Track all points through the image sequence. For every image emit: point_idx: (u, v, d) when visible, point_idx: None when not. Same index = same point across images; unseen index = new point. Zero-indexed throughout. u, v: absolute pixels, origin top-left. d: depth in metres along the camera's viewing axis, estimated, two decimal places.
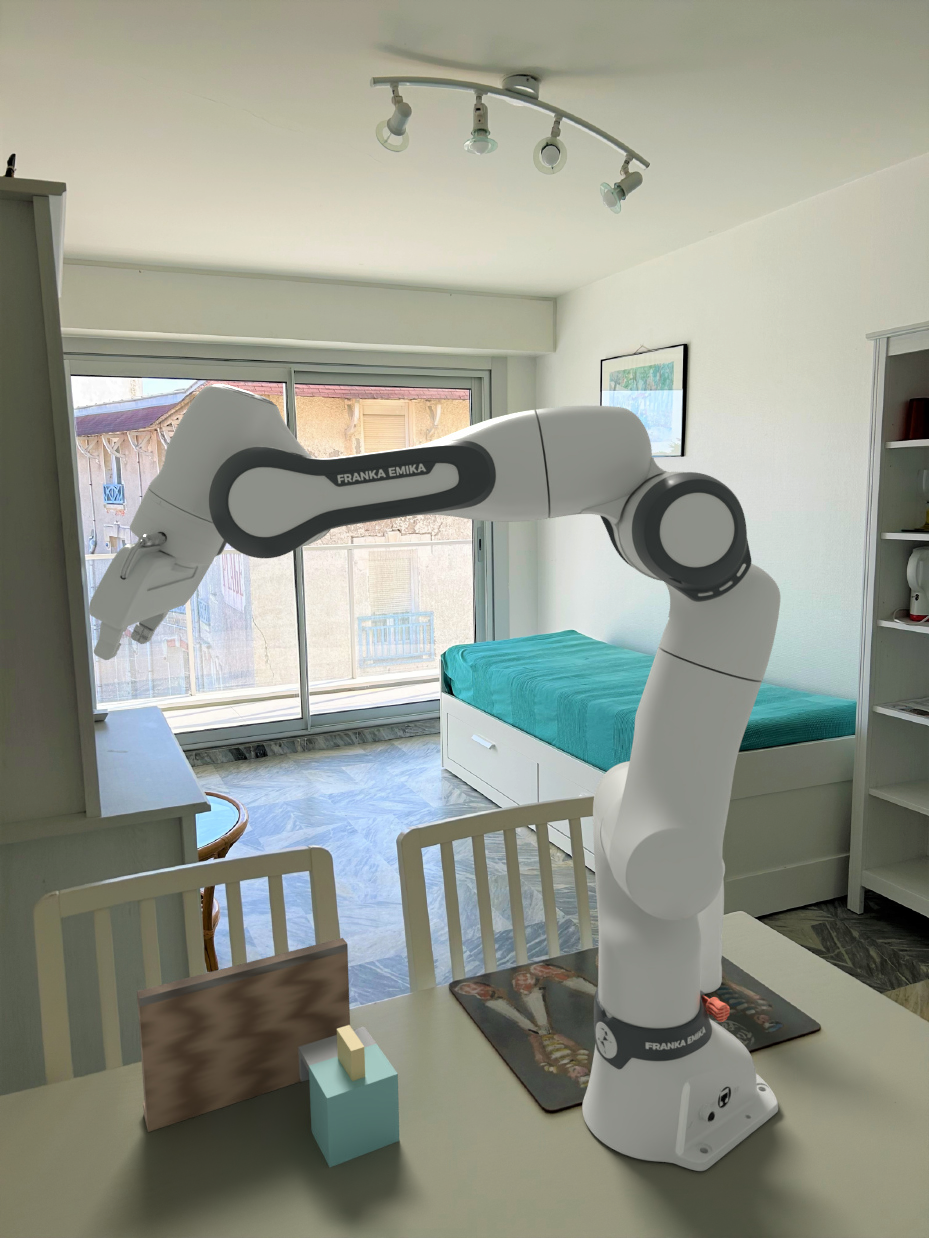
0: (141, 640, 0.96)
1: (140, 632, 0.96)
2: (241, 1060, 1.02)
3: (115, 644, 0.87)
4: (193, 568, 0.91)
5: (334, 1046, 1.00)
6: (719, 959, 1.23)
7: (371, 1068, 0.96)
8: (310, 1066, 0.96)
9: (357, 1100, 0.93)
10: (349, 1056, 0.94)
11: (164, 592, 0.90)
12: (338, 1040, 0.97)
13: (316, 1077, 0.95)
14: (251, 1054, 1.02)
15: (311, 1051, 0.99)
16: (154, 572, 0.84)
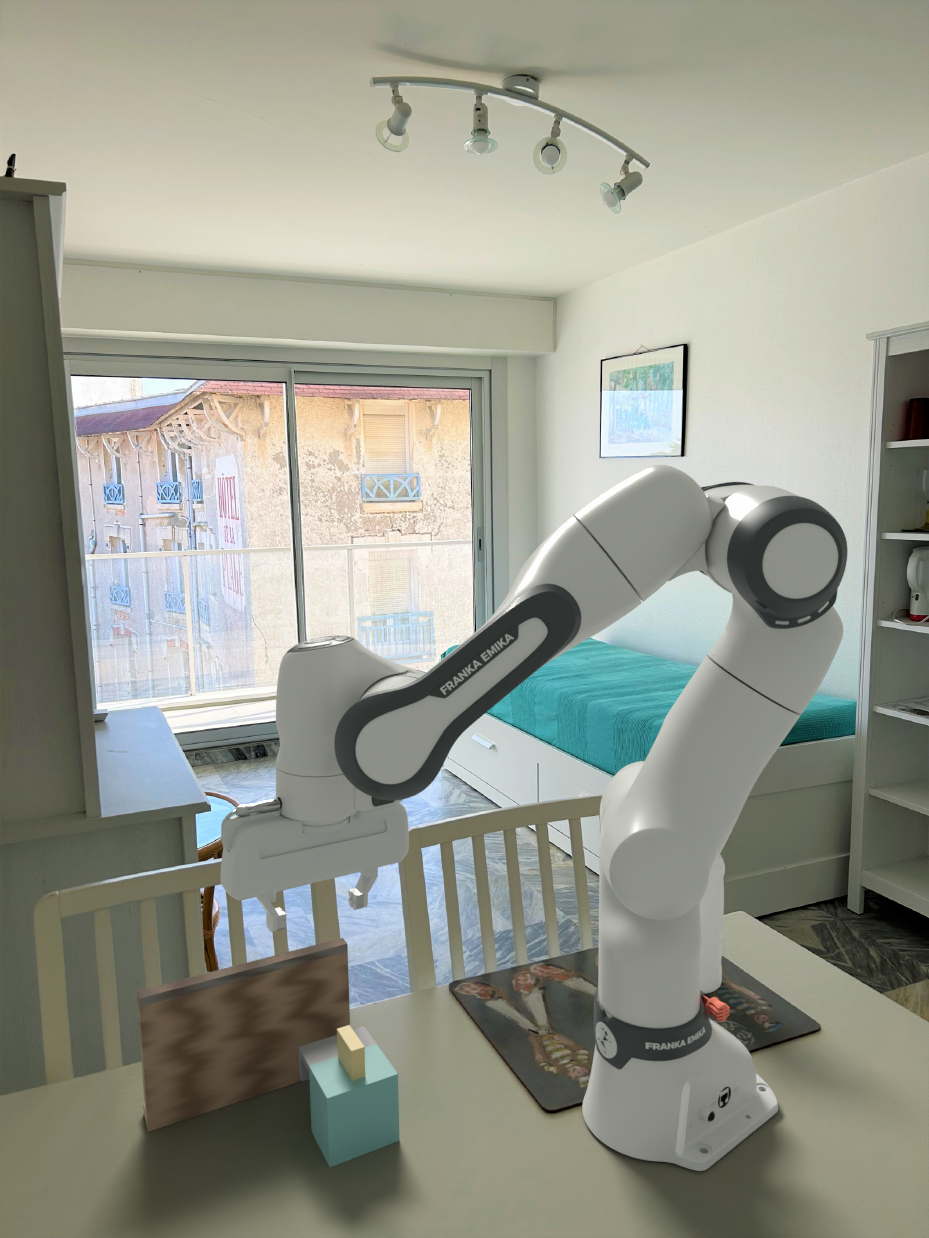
0: (354, 906, 0.95)
1: (352, 897, 0.95)
2: (241, 1060, 1.02)
3: (270, 915, 0.89)
4: (331, 825, 0.89)
5: (334, 1046, 1.00)
6: (719, 959, 1.23)
7: (371, 1068, 0.96)
8: (310, 1066, 0.96)
9: (357, 1100, 0.93)
10: (349, 1056, 0.94)
11: (315, 855, 0.90)
12: (339, 1040, 0.97)
13: (316, 1077, 0.95)
14: (251, 1054, 1.02)
15: (311, 1051, 0.99)
16: (255, 839, 0.86)
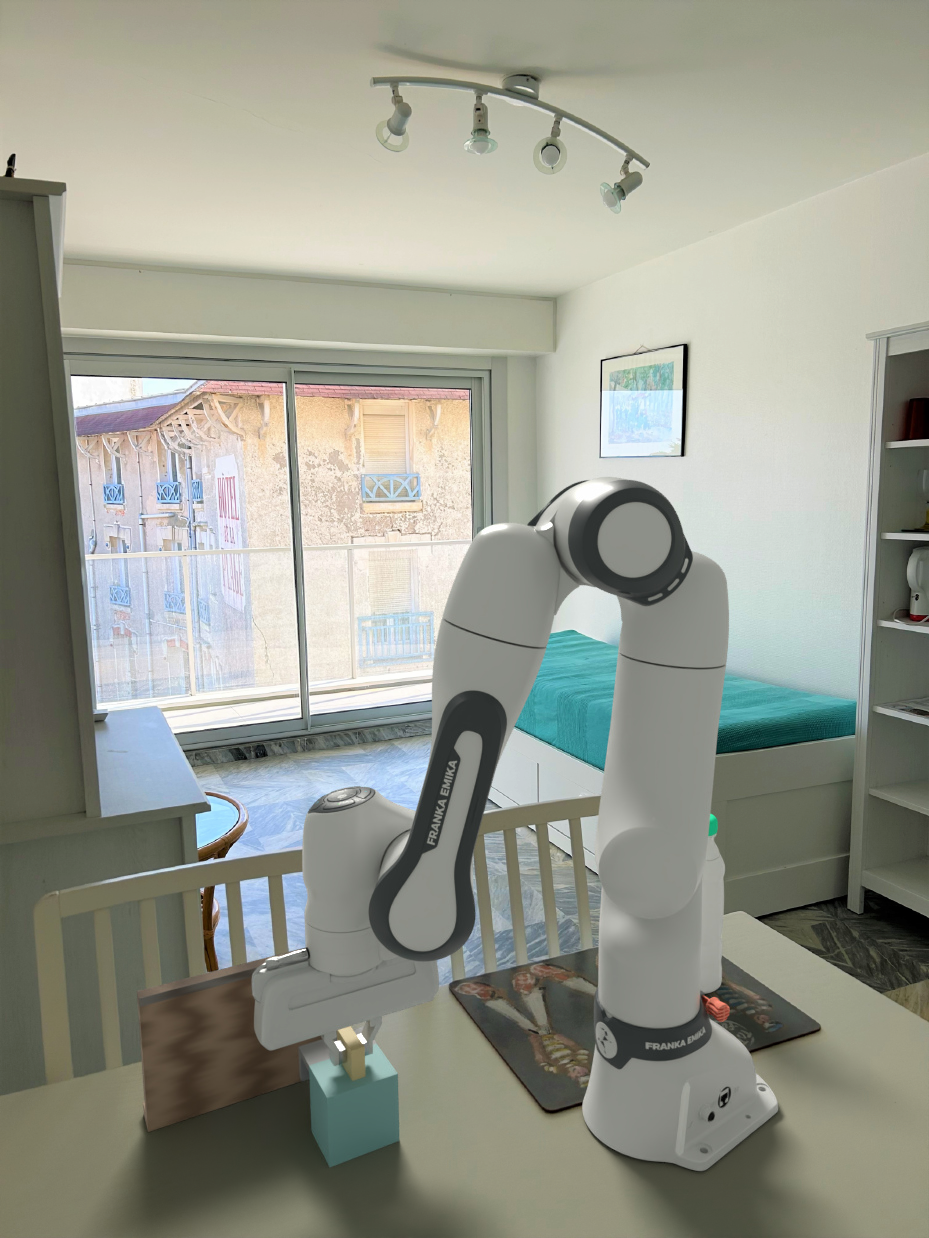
0: None
1: None
2: (241, 1060, 1.02)
3: (332, 1051, 0.94)
4: (357, 975, 0.92)
5: None
6: (719, 959, 1.23)
7: (371, 1068, 0.96)
8: (310, 1066, 0.96)
9: (357, 1100, 0.93)
10: (349, 1056, 0.94)
11: (343, 1002, 0.93)
12: (339, 1039, 0.97)
13: (316, 1077, 0.95)
14: (251, 1054, 1.02)
15: (311, 1051, 0.99)
16: (283, 992, 0.89)
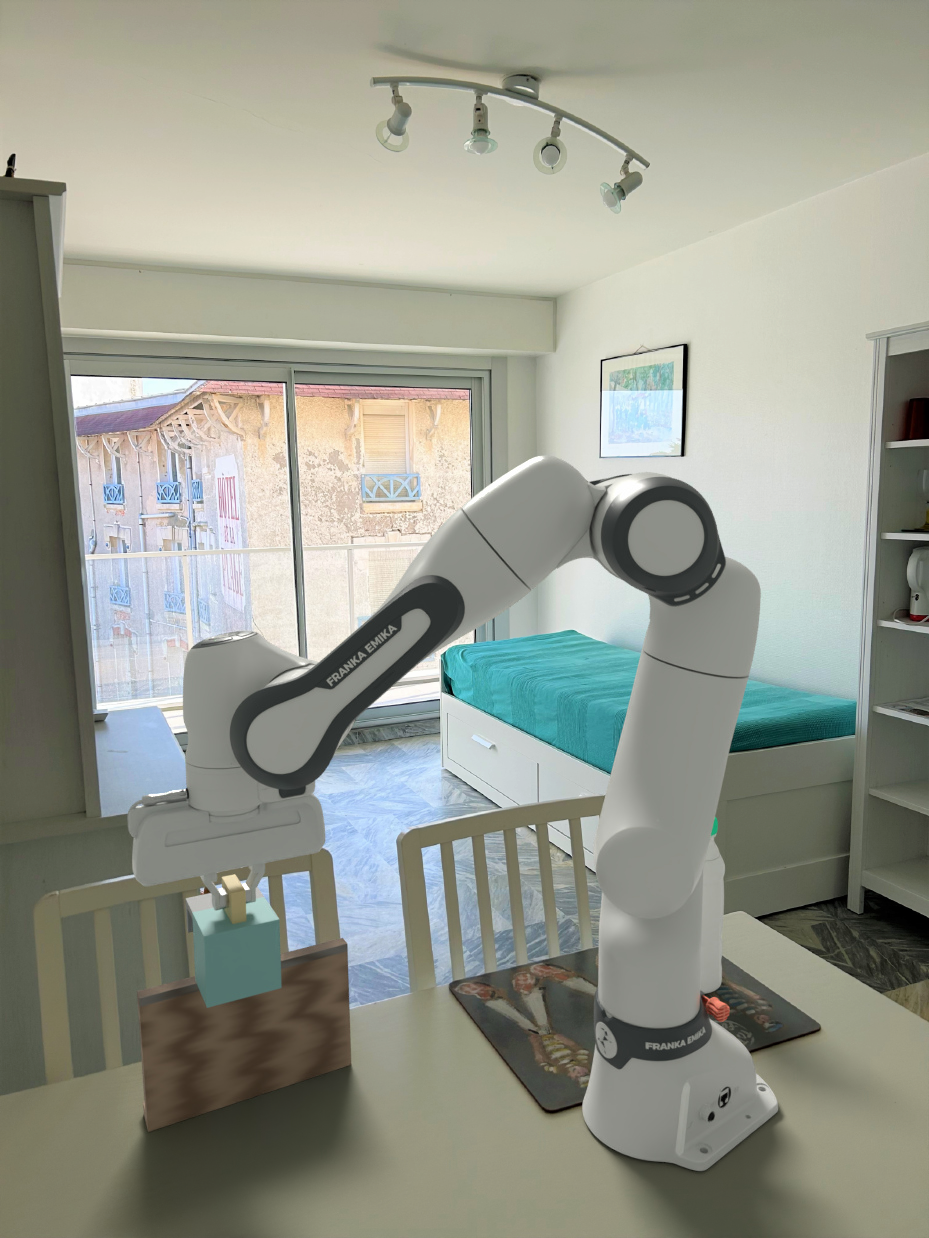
0: None
1: None
2: (241, 1060, 1.02)
3: (212, 894, 0.94)
4: (236, 815, 0.92)
5: None
6: (719, 959, 1.23)
7: (254, 914, 0.96)
8: (193, 912, 0.96)
9: (236, 941, 0.93)
10: (230, 899, 0.94)
11: (223, 844, 0.93)
12: (223, 887, 0.97)
13: (197, 921, 0.95)
14: (251, 1054, 1.02)
15: (197, 901, 0.99)
16: (159, 828, 0.89)
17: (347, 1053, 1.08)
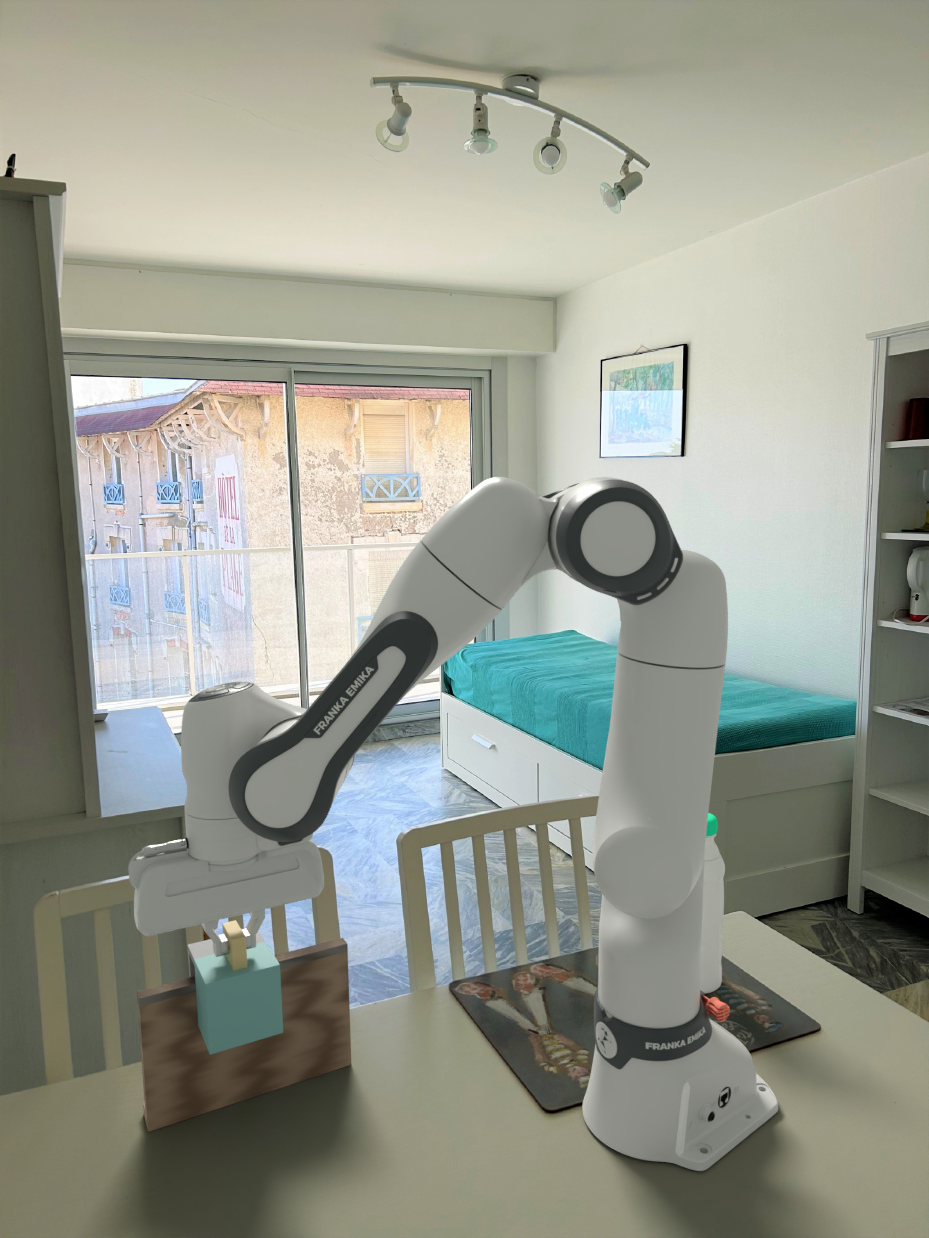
0: None
1: None
2: (241, 1060, 1.02)
3: (213, 941, 0.95)
4: (235, 864, 0.93)
5: None
6: (719, 959, 1.23)
7: (254, 960, 0.97)
8: (195, 959, 0.98)
9: (237, 988, 0.94)
10: (231, 946, 0.95)
11: (223, 892, 0.94)
12: None
13: (199, 968, 0.96)
14: (251, 1054, 1.02)
15: (199, 948, 1.00)
16: (160, 879, 0.91)
17: (347, 1053, 1.08)
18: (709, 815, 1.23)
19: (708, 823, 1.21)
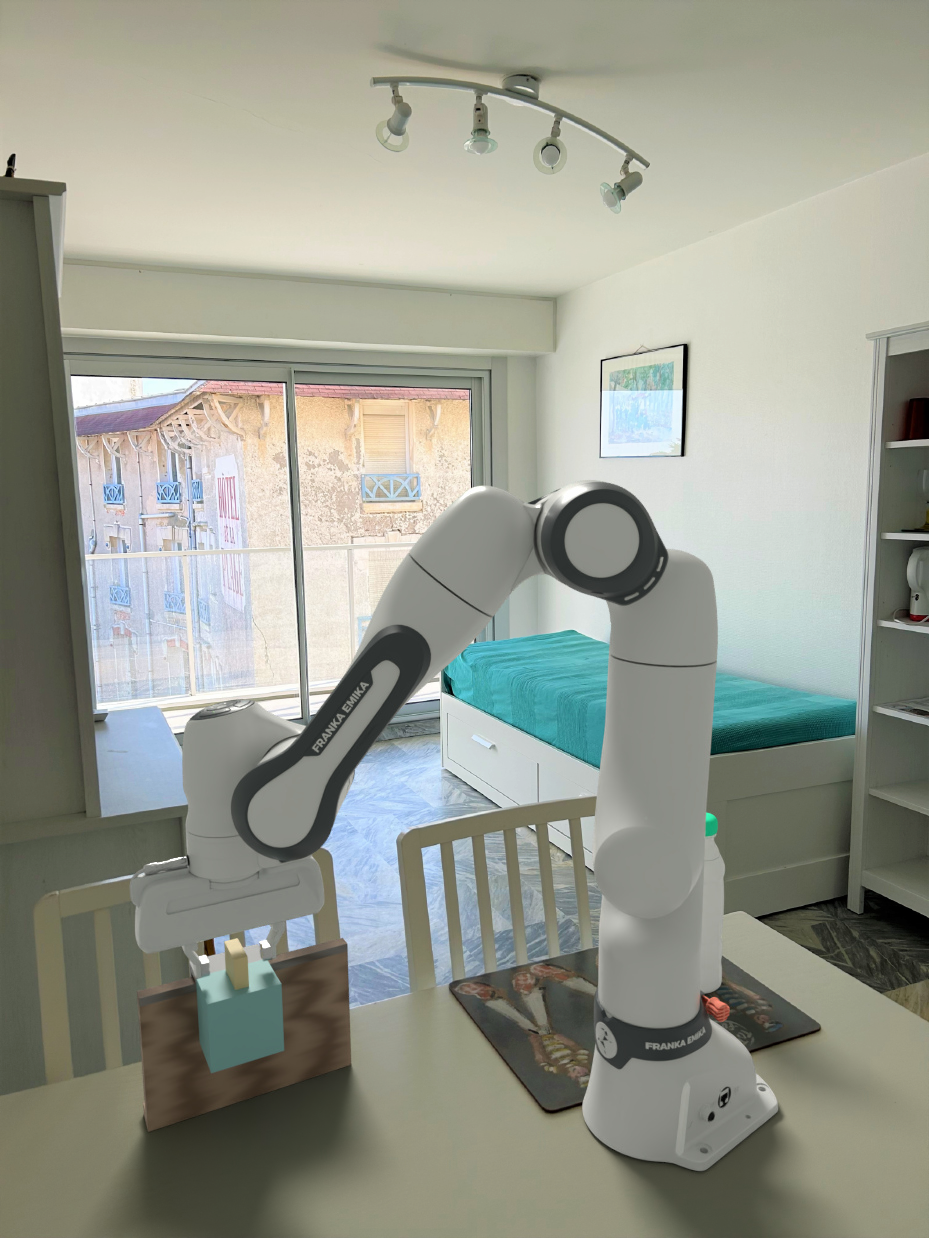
0: (262, 957, 0.99)
1: (261, 949, 0.99)
2: None
3: (193, 963, 0.95)
4: (236, 882, 0.94)
5: (224, 960, 1.01)
6: (719, 959, 1.23)
7: (256, 979, 0.98)
8: None
9: (239, 1007, 0.95)
10: (233, 965, 0.96)
11: (224, 909, 0.95)
12: (225, 952, 0.99)
13: (201, 986, 0.96)
14: None
15: None
16: (161, 896, 0.91)
17: (347, 1053, 1.08)
18: (709, 815, 1.23)
19: (708, 823, 1.21)
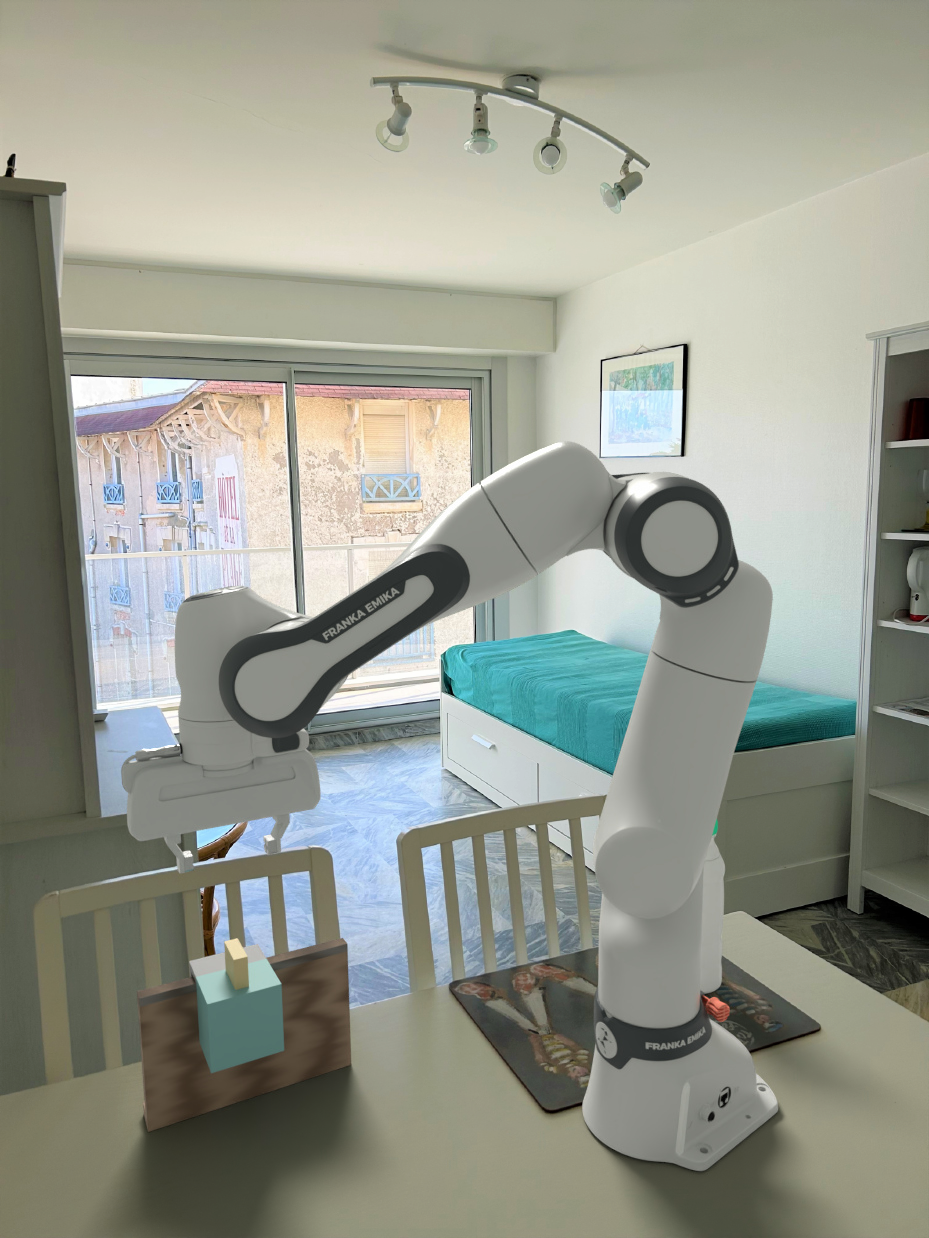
0: (267, 851, 0.97)
1: (266, 843, 0.98)
2: None
3: (176, 857, 0.92)
4: (230, 770, 0.92)
5: (224, 960, 1.01)
6: (719, 959, 1.23)
7: (256, 979, 0.98)
8: (197, 977, 0.98)
9: (239, 1007, 0.95)
10: (233, 965, 0.96)
11: (218, 799, 0.93)
12: (225, 952, 0.99)
13: (201, 986, 0.96)
14: None
15: (201, 964, 1.01)
16: (153, 782, 0.89)
17: (347, 1053, 1.08)
18: None
19: None
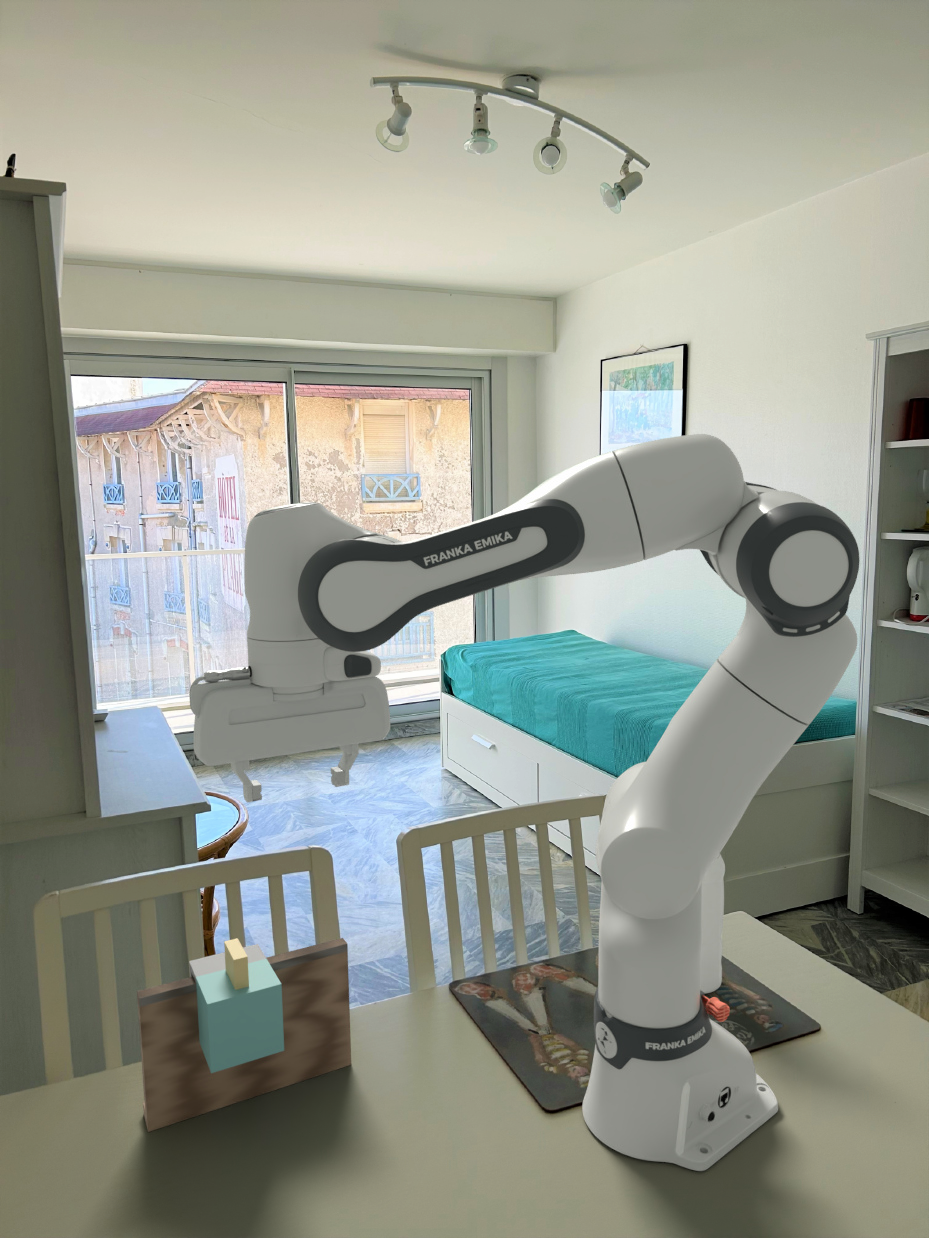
0: (335, 783, 0.94)
1: (333, 775, 0.94)
2: None
3: (244, 784, 0.88)
4: (301, 693, 0.88)
5: (224, 960, 1.01)
6: (719, 959, 1.23)
7: (256, 979, 0.98)
8: (197, 977, 0.98)
9: (239, 1007, 0.95)
10: (233, 965, 0.96)
11: (287, 725, 0.89)
12: (225, 952, 0.99)
13: (201, 986, 0.96)
14: None
15: (201, 964, 1.01)
16: (223, 704, 0.85)
17: (347, 1053, 1.08)
18: None
19: None
